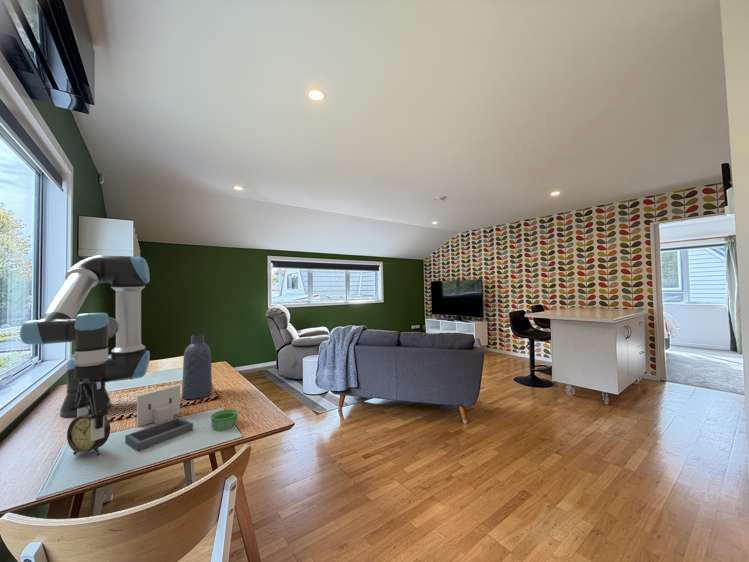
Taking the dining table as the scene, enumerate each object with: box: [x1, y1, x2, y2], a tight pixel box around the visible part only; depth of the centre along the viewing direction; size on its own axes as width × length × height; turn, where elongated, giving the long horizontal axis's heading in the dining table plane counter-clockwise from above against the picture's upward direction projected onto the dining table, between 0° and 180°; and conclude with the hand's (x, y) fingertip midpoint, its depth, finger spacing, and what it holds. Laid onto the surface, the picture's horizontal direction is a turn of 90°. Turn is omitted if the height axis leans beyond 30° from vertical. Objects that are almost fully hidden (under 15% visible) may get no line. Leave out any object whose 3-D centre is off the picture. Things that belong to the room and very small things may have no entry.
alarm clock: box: [66, 400, 111, 457], centre depth 91 cm, size 11×5×16 cm, turn 81°
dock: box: [124, 416, 194, 453], centre depth 100 cm, size 10×16×2 cm, turn 148°
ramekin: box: [210, 408, 239, 432], centre depth 108 cm, size 9×9×4 cm
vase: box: [181, 334, 213, 400], centre depth 140 cm, size 12×12×28 cm
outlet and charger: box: [136, 384, 181, 427], centre depth 111 cm, size 12×14×11 cm
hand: (90, 433), depth 91 cm, fingers open, 13 cm apart
